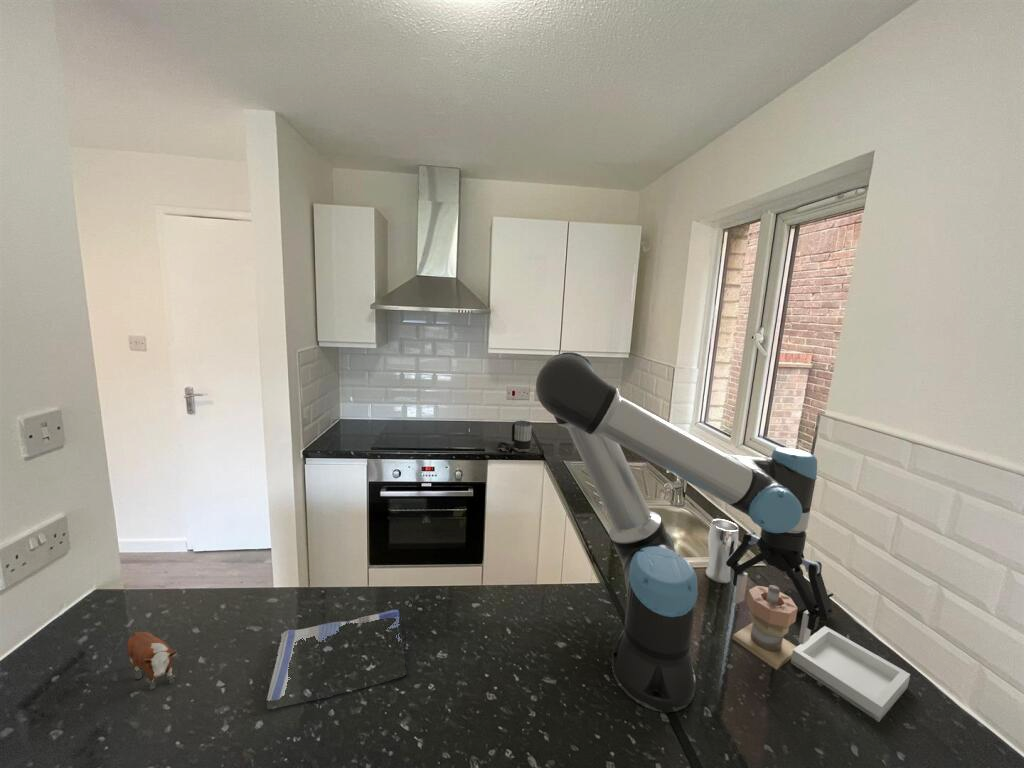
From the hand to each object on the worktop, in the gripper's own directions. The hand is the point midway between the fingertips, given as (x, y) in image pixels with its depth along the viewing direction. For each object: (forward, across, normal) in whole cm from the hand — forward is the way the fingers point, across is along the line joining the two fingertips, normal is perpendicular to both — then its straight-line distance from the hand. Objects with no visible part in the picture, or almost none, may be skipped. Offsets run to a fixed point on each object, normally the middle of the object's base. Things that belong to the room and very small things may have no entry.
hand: (769, 619), depth 85 cm
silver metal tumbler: (+6, +20, -14) cm, 25 cm away
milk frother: (+6, +134, -19) cm, 136 cm away
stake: (+6, 0, 0) cm, 6 cm away
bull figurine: (+6, +48, +108) cm, 119 cm away
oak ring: (+1, 0, 0) cm, 1 cm away
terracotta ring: (-2, 0, 0) cm, 2 cm away
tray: (+6, -12, -7) cm, 15 cm away
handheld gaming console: (+7, +2, -20) cm, 21 cm away
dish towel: (+7, +38, +79) cm, 88 cm away
